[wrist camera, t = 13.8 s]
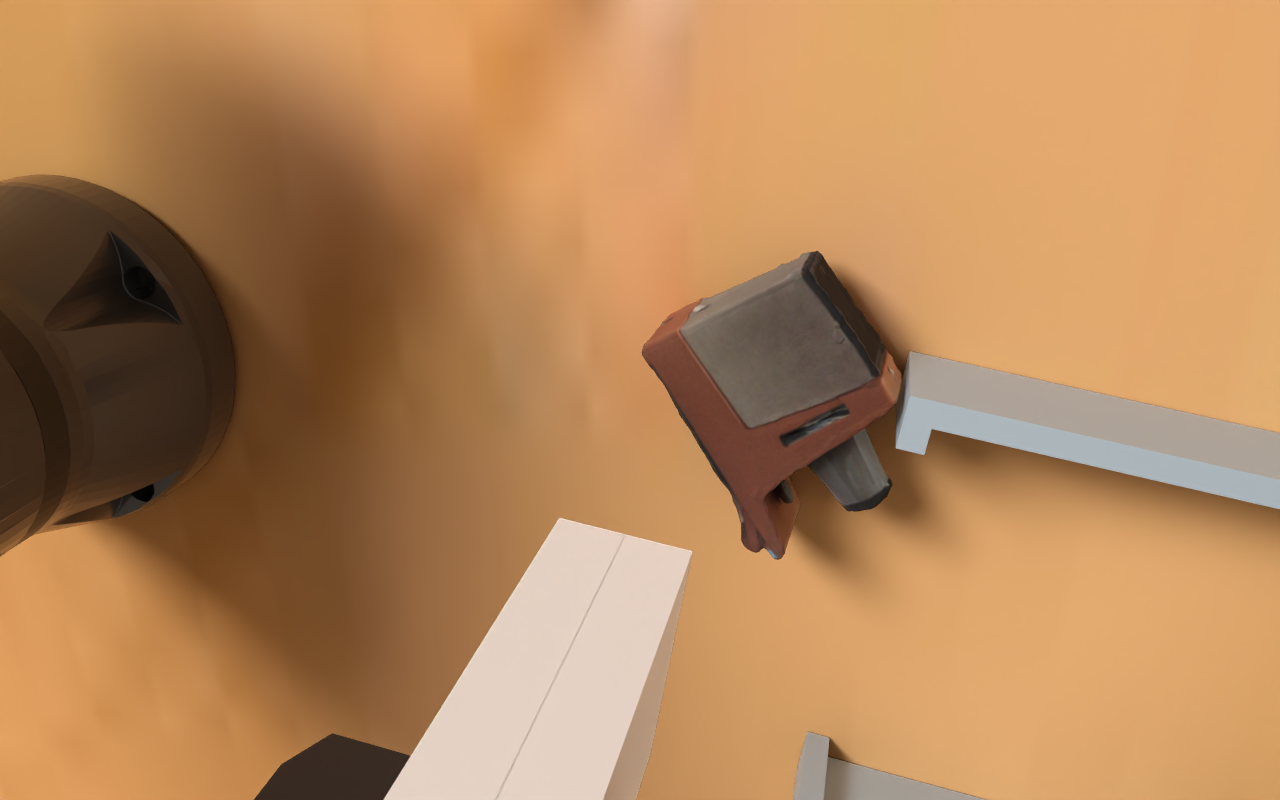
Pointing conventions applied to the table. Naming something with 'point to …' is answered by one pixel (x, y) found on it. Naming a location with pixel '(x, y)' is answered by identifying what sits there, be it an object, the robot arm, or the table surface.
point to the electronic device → (780, 392)
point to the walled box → (1062, 428)
